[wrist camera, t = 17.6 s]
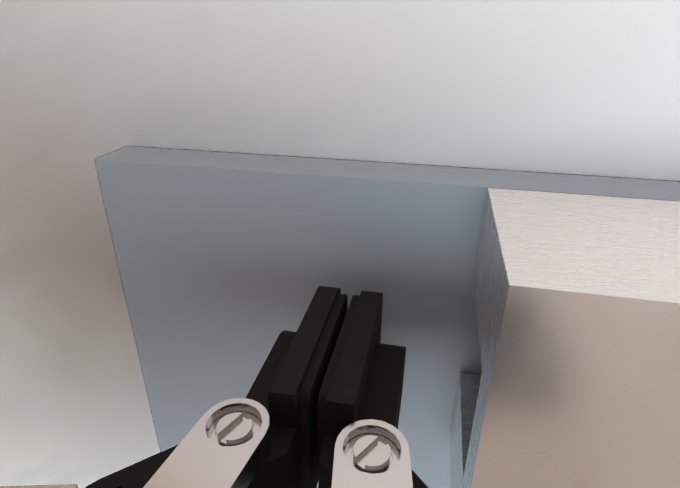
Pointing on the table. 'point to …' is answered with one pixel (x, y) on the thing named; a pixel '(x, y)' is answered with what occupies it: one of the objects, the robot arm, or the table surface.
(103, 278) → the table surface
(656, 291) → the housing cover
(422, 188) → the assembly board
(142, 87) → the table surface
